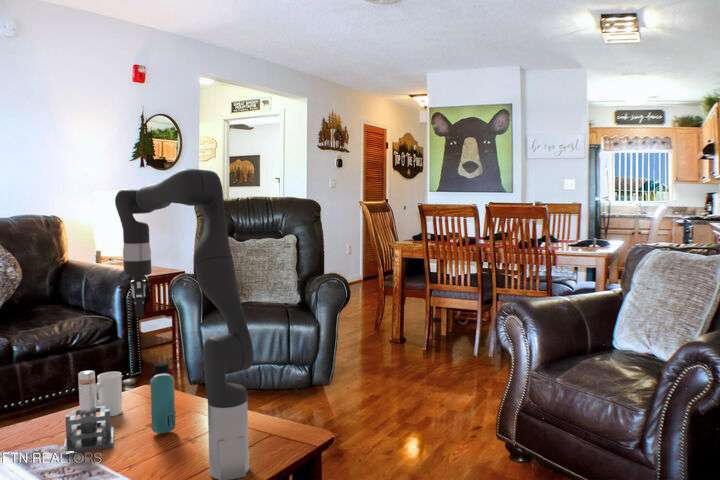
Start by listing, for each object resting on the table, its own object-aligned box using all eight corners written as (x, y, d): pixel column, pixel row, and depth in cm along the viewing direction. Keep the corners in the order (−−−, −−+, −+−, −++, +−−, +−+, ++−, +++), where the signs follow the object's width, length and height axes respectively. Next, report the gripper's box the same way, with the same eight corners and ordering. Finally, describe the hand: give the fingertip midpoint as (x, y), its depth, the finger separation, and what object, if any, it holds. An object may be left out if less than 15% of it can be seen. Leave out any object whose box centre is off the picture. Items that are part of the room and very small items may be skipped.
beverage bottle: (168, 439, 159) (166, 367, 158) (146, 437, 161) (144, 366, 159) (180, 430, 166) (178, 360, 164) (159, 428, 167) (156, 359, 165)
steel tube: (97, 439, 156) (94, 373, 155) (80, 442, 155) (77, 375, 154) (97, 434, 160) (95, 369, 159) (81, 436, 159) (78, 371, 158)
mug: (109, 408, 184) (108, 370, 183) (127, 410, 181) (126, 372, 181) (85, 419, 174) (83, 380, 173) (104, 422, 172) (102, 382, 171)
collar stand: (113, 447, 154) (112, 417, 154) (62, 455, 150) (61, 424, 149) (113, 430, 166) (112, 402, 165) (66, 437, 161) (65, 408, 160)
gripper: (152, 260, 164) (154, 317, 165) (149, 255, 177) (151, 308, 178) (123, 261, 161) (125, 319, 162) (123, 256, 174) (125, 310, 175)
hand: (139, 313), depth 170 cm, fingers open, 8 cm apart
